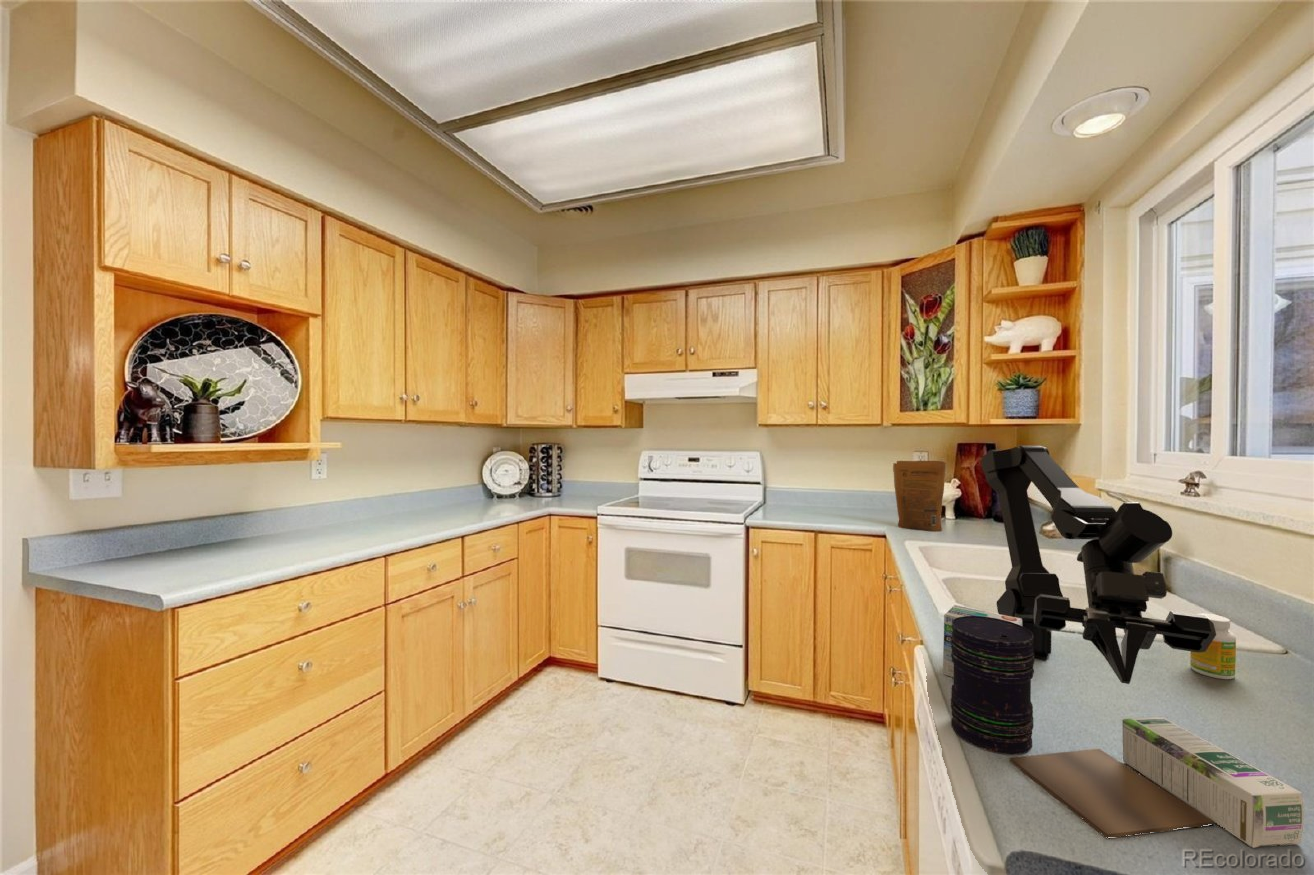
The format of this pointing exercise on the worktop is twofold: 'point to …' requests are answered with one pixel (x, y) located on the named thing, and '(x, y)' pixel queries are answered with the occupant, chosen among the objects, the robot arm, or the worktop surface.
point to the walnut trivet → (1108, 793)
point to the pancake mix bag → (919, 493)
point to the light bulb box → (948, 618)
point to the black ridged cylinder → (992, 684)
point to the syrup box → (1215, 782)
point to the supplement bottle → (1217, 651)
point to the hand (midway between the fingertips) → (1125, 682)
